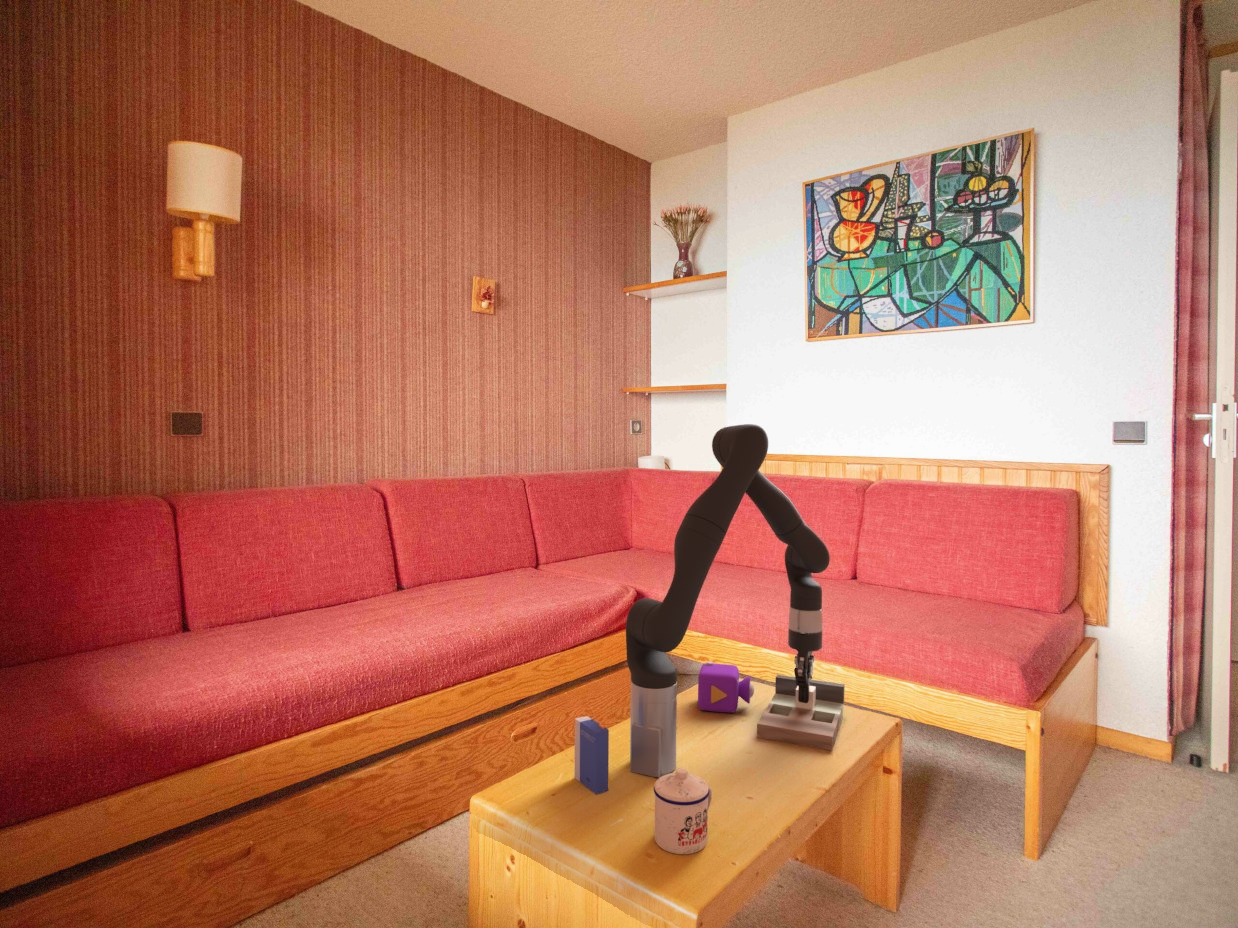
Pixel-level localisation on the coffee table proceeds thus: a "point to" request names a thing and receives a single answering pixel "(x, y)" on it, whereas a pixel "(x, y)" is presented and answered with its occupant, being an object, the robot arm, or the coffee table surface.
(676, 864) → the coffee table surface
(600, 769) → the walkman
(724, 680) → the toy camera
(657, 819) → the teacup with lid
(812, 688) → the block
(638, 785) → the coffee table surface
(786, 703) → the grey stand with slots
